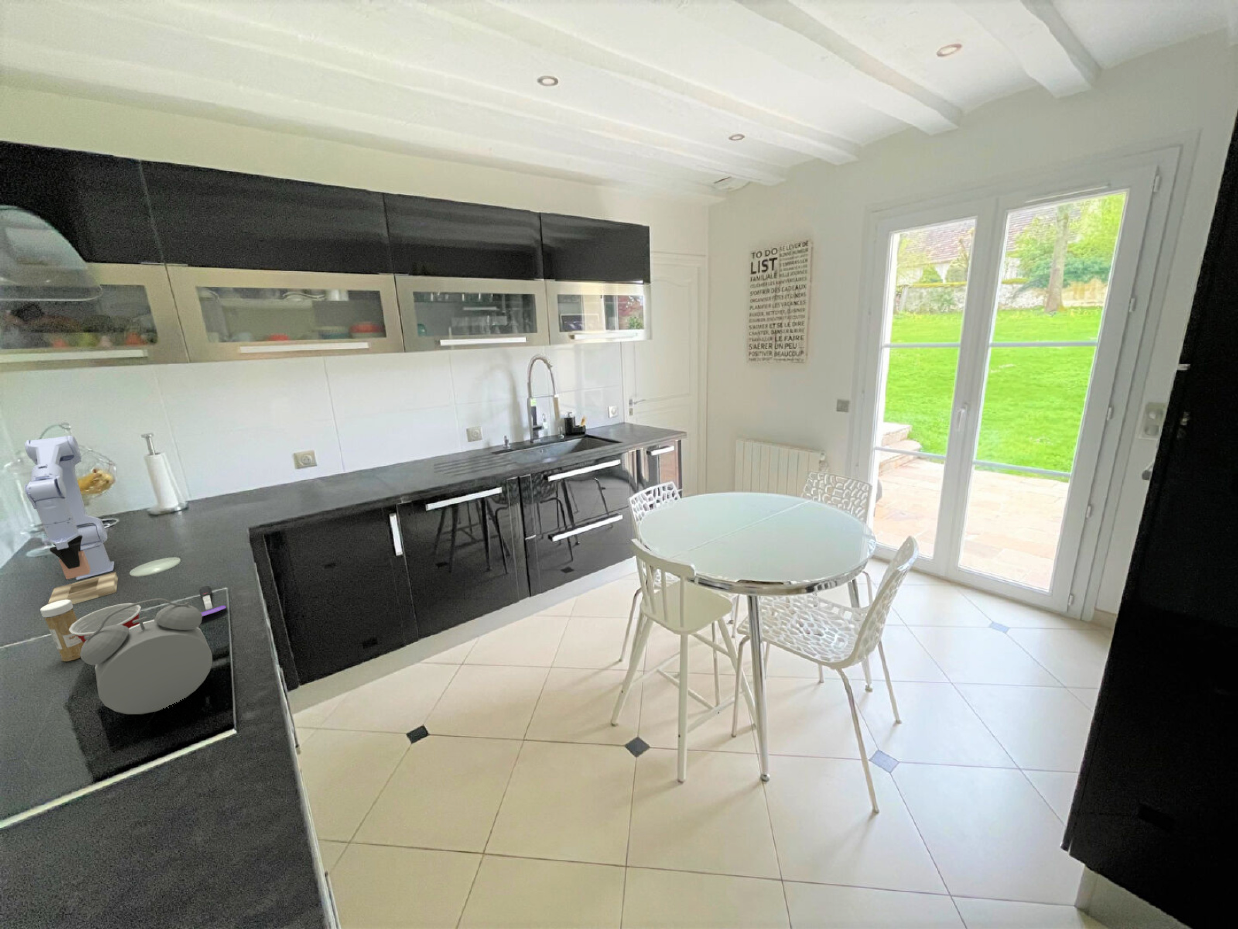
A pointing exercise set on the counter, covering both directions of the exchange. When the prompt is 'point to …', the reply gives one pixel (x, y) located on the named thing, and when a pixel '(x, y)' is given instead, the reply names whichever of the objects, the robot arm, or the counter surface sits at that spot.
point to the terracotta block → (77, 571)
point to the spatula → (208, 601)
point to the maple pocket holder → (86, 589)
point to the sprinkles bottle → (63, 628)
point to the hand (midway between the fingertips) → (75, 564)
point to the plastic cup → (94, 619)
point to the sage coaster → (155, 566)
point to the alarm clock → (149, 659)
